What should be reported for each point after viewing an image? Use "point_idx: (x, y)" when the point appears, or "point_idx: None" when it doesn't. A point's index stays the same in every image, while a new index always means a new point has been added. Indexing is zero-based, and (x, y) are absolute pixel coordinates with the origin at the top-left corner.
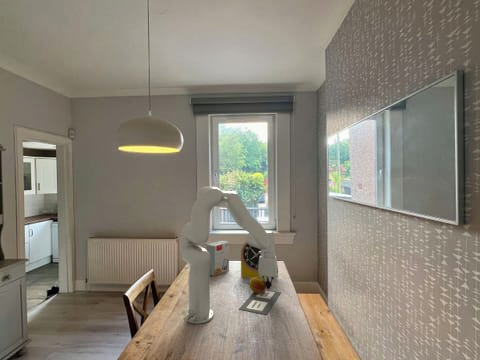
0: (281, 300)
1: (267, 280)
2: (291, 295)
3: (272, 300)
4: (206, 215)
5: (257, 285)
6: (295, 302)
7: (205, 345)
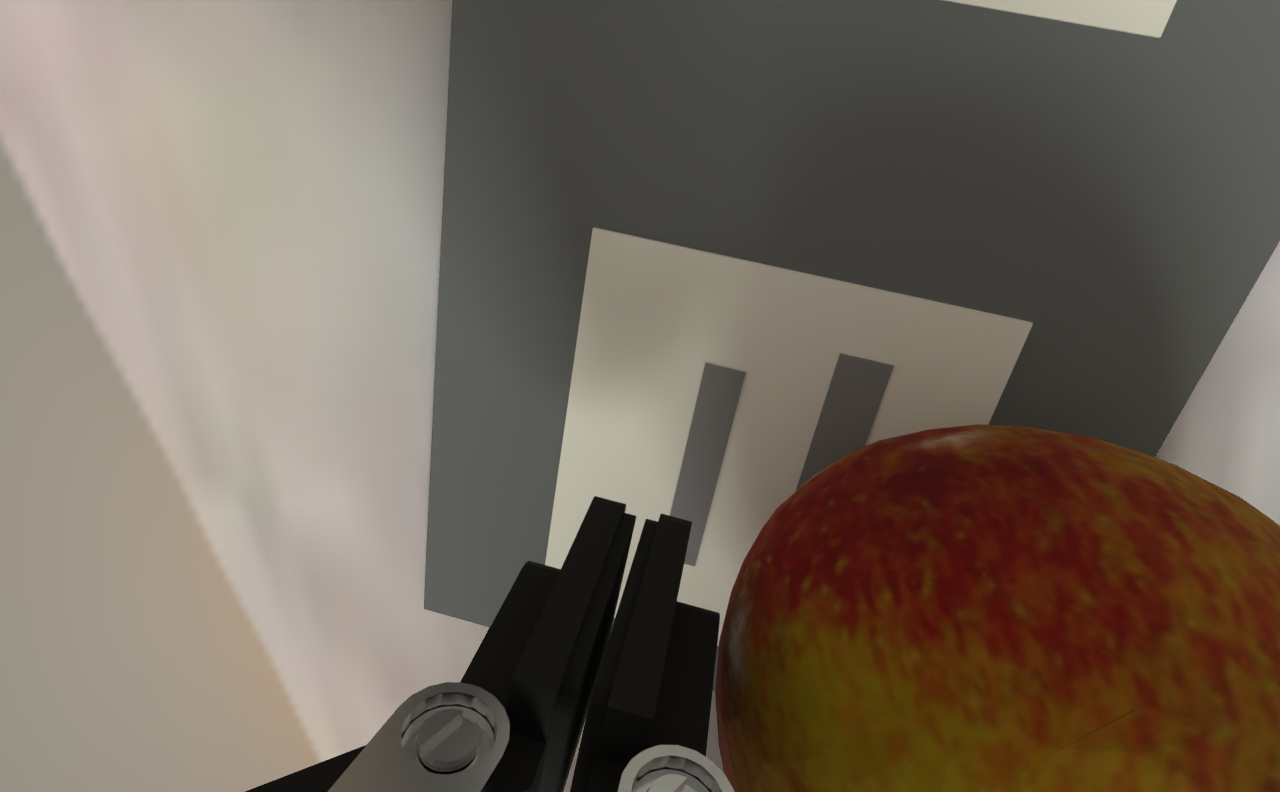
0: (331, 235)
1: (597, 789)
2: (213, 498)
3: (524, 155)
4: None
5: (1092, 559)
6: (35, 189)
7: None
